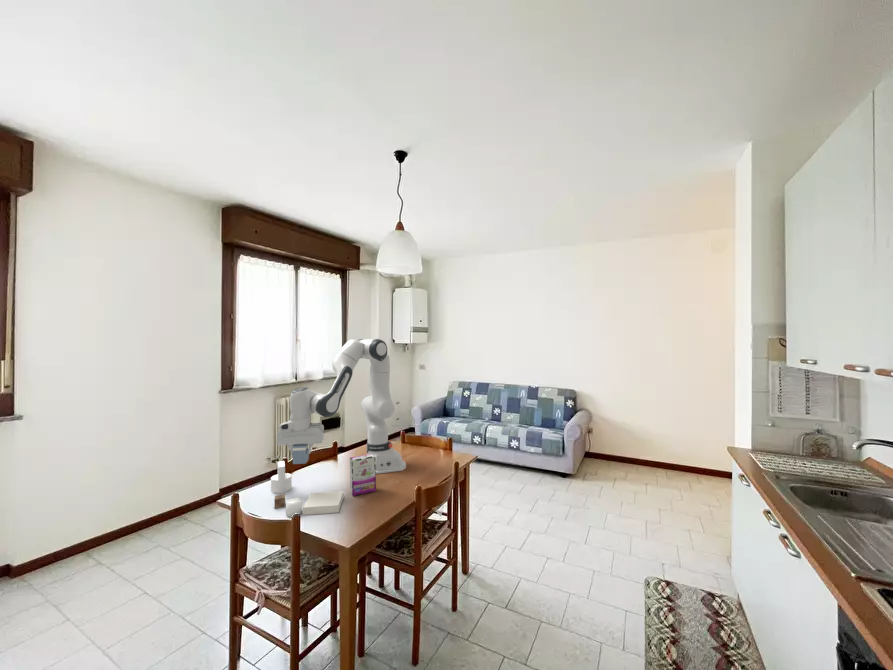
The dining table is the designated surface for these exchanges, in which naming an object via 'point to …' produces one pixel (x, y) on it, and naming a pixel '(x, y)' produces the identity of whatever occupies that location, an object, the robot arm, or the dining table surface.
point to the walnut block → (279, 501)
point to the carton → (300, 454)
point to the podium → (323, 503)
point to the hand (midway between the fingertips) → (300, 453)
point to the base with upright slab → (281, 480)
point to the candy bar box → (362, 474)
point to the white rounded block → (293, 506)
